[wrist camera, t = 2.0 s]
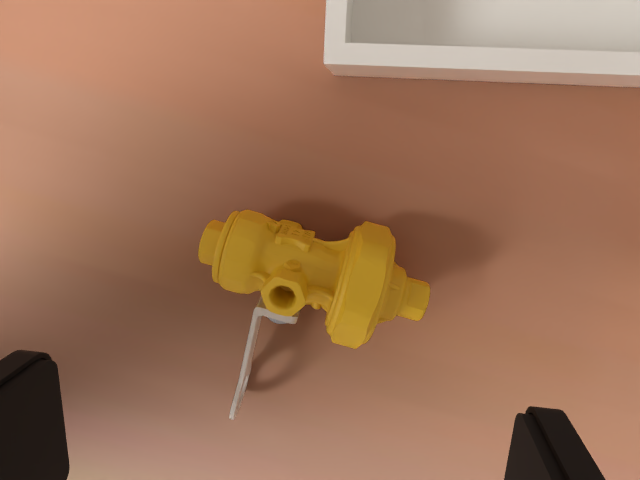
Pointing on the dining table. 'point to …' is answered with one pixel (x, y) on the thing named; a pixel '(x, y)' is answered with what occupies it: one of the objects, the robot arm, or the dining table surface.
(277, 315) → the pressure relief valve
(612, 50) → the bin
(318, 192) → the dining table surface
